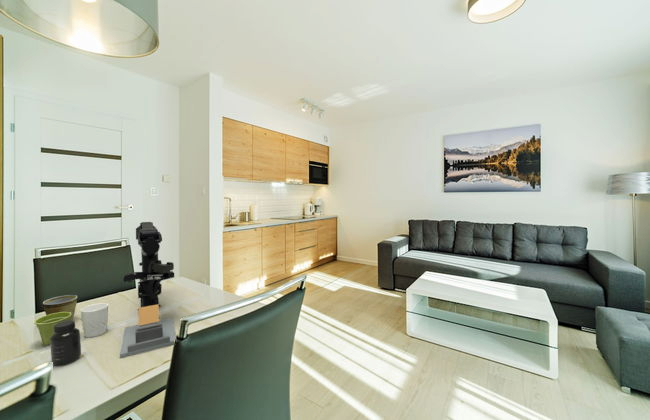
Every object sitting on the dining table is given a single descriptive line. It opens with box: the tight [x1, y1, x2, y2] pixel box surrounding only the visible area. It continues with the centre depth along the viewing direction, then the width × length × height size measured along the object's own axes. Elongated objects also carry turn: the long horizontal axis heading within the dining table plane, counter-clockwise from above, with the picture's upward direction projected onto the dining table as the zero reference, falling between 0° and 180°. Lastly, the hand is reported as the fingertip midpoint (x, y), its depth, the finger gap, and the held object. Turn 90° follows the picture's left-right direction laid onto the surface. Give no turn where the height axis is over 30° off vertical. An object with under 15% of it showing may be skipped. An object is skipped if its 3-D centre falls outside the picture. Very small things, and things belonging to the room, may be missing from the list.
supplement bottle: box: [49, 319, 82, 367], centre depth 86 cm, size 7×7×12 cm
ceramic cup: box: [42, 294, 78, 320], centre depth 110 cm, size 13×10×10 cm
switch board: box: [119, 317, 177, 359], centre depth 100 cm, size 21×16×5 cm
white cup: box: [80, 302, 109, 338], centre depth 102 cm, size 8×8×10 cm
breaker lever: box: [137, 304, 161, 330], centre depth 97 cm, size 2×7×7 cm, turn 122°
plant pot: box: [33, 312, 71, 346], centre depth 97 cm, size 9×9×9 cm
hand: (151, 298), depth 107 cm, fingers closed
